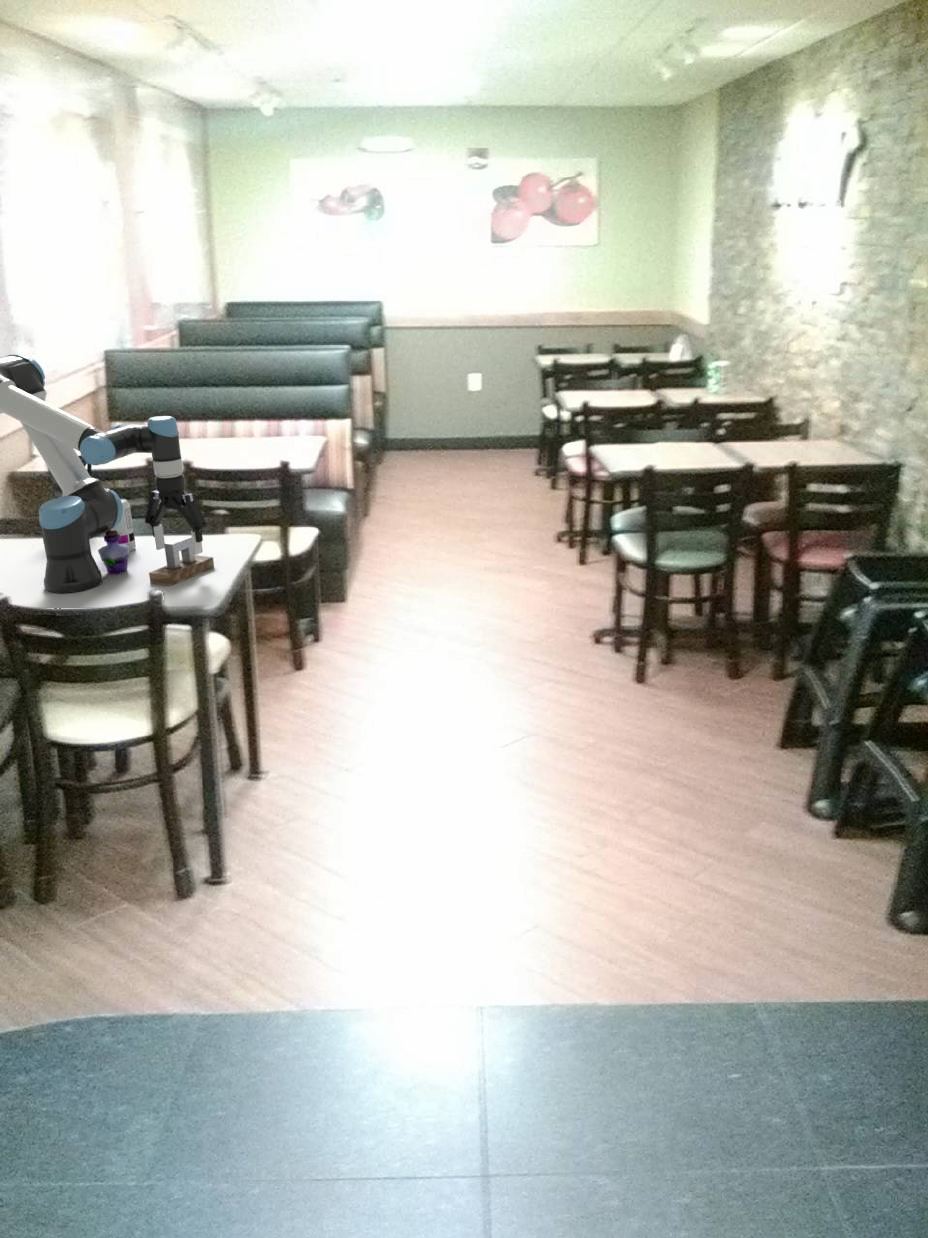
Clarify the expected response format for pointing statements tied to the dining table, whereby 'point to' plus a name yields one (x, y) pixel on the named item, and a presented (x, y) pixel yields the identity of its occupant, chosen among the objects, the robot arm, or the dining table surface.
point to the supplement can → (126, 527)
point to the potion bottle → (114, 553)
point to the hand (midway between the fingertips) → (179, 551)
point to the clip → (173, 550)
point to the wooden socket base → (181, 571)
